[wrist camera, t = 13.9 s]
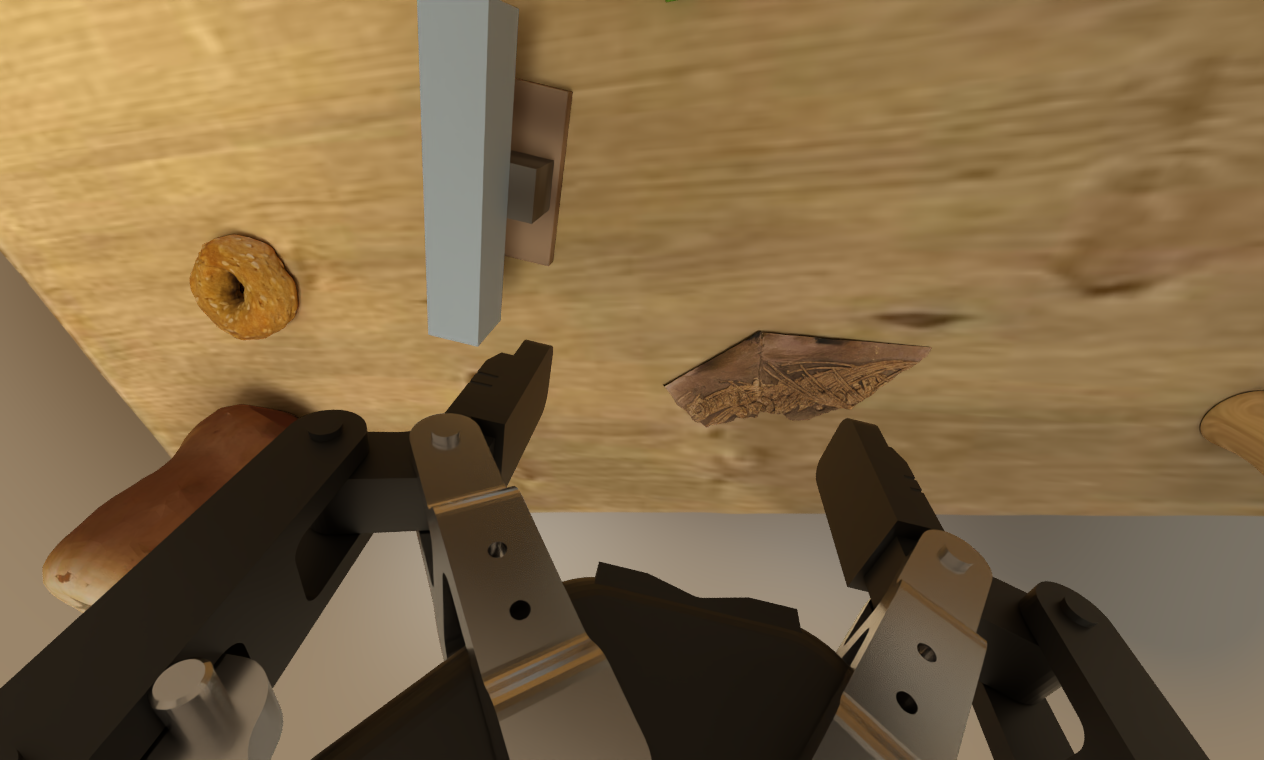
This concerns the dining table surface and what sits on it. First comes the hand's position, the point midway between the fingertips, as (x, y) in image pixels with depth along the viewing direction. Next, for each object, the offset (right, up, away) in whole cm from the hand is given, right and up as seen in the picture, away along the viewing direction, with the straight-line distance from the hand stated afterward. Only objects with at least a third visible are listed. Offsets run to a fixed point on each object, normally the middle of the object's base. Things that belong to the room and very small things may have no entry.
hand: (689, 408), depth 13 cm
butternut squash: (-45, -5, +48) cm, 66 cm away
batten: (-13, +16, +23) cm, 30 cm away
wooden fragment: (+15, +2, +36) cm, 39 cm away
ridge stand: (-12, +19, +28) cm, 36 cm away
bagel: (-41, +11, +37) cm, 57 cm away
